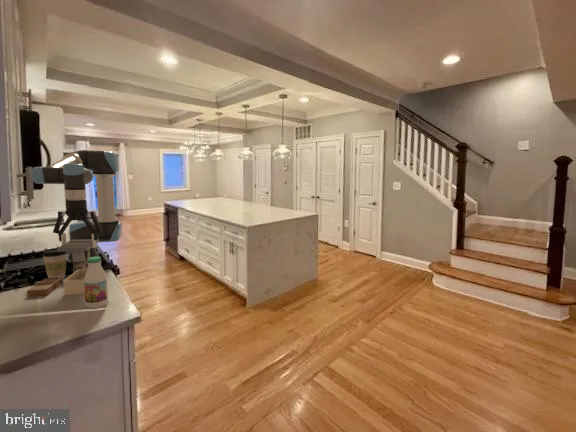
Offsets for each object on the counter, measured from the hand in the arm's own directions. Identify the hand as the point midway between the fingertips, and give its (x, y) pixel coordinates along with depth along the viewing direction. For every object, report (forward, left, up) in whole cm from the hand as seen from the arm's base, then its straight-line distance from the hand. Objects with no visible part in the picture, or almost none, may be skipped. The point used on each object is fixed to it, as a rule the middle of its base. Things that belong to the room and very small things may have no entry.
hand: (79, 247), depth 136 cm
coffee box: (-24, -8, -20) cm, 32 cm away
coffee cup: (-15, -16, -20) cm, 29 cm away
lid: (0, 0, +1) cm, 1 cm away
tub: (0, 0, -19) cm, 19 cm away
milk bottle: (+20, +12, -20) cm, 31 cm away
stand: (0, -14, -19) cm, 24 cm away
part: (-4, 0, -19) cm, 19 cm away
